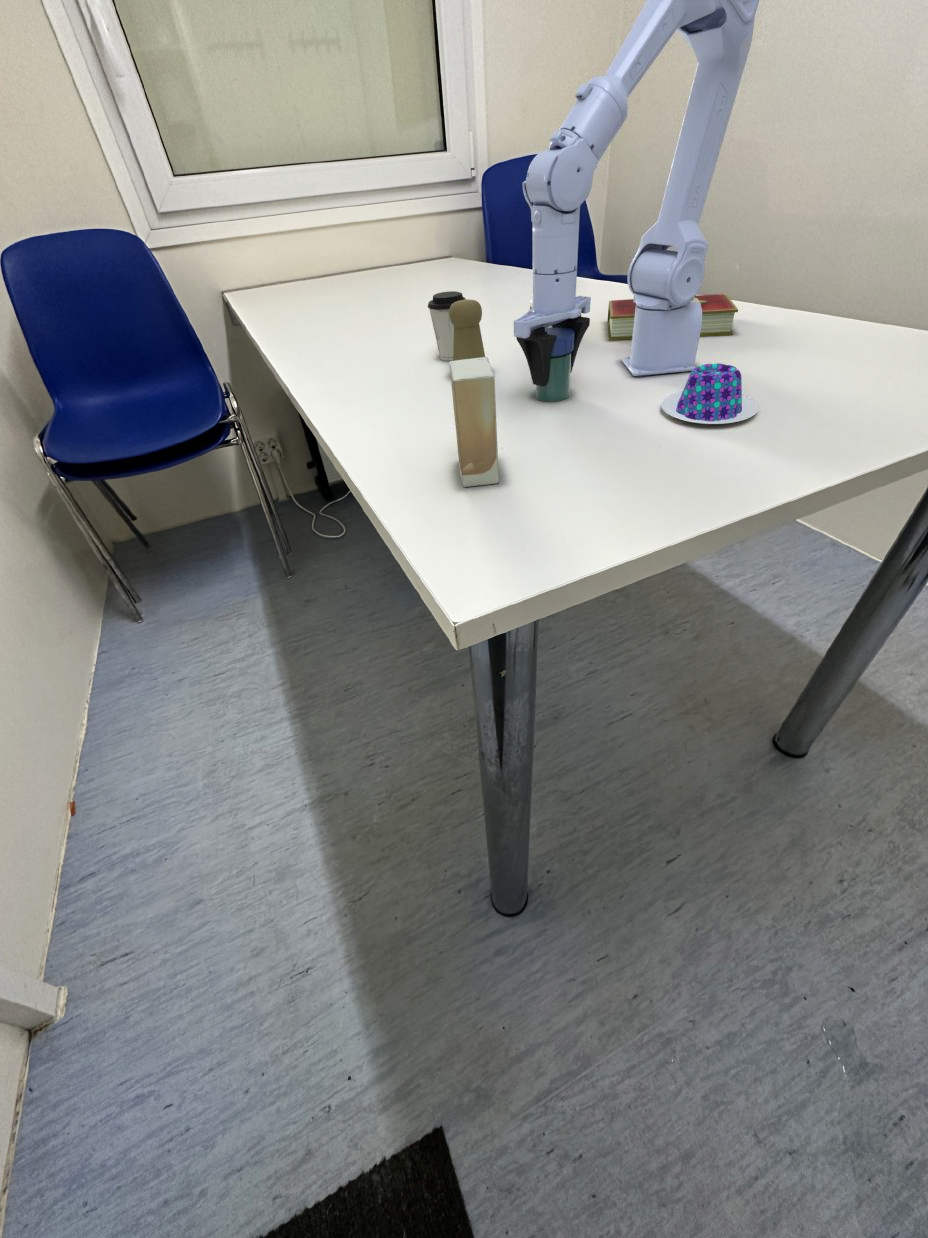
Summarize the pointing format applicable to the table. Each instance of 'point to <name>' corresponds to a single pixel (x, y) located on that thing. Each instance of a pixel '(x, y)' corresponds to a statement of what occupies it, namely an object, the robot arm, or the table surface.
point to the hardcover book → (714, 306)
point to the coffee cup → (444, 321)
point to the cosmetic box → (475, 420)
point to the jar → (556, 380)
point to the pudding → (711, 397)
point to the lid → (562, 340)
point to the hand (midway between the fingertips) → (552, 378)
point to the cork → (466, 329)
